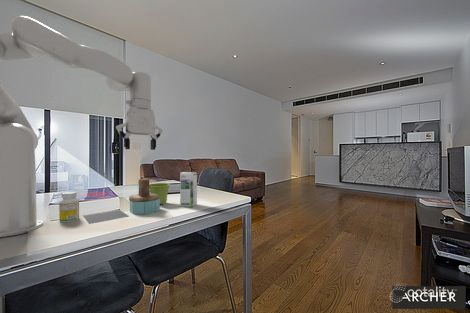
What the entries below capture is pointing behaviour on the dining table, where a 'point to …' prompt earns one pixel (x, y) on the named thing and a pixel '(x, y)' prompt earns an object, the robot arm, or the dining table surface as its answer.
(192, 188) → the syrup box
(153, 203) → the bowl
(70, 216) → the supplement bottle
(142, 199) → the lid
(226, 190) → the dining table surface
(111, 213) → the mat
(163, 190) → the plant pot
